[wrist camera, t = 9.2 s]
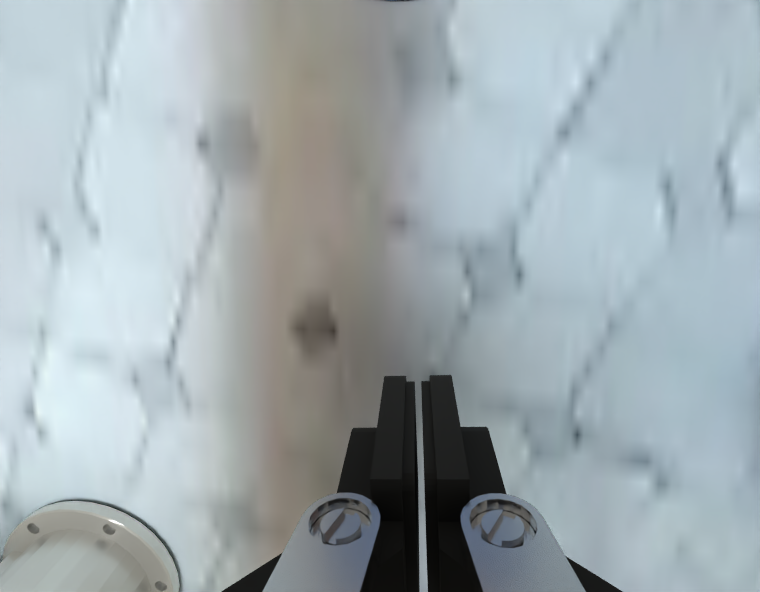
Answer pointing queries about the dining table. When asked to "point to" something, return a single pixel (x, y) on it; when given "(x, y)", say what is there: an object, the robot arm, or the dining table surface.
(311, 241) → the dining table surface
